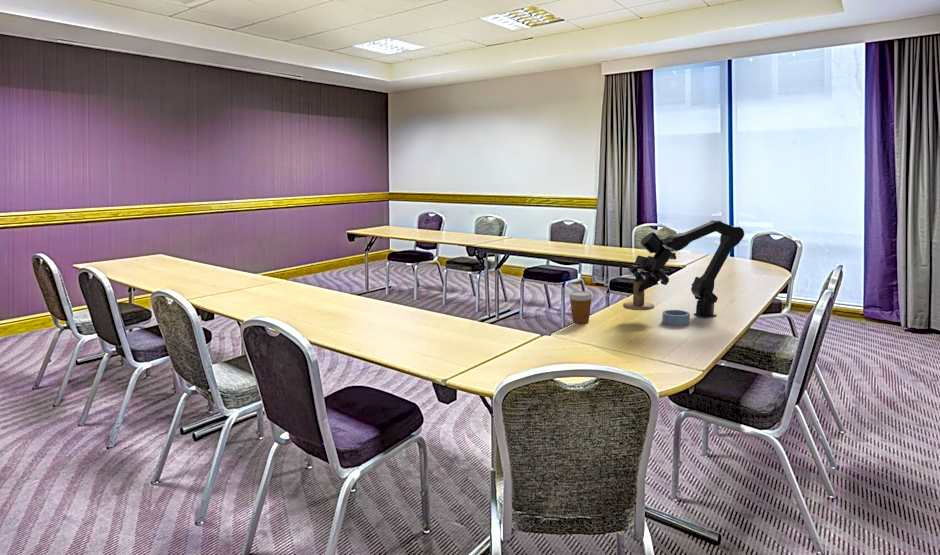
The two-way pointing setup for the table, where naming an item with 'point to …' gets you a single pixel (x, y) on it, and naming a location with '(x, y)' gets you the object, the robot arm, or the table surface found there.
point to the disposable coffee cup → (580, 306)
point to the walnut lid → (638, 299)
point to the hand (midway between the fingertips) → (636, 290)
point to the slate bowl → (676, 317)
